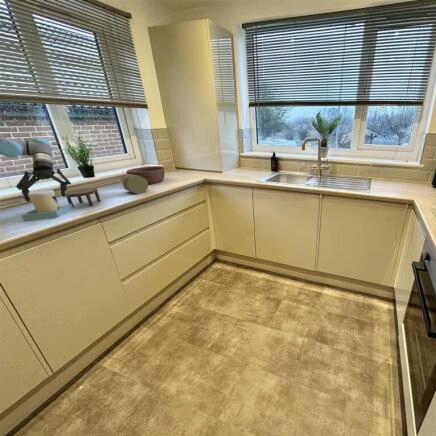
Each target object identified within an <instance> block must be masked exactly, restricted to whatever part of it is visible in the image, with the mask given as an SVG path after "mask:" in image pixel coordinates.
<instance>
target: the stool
mask: <svg viewBox="0 0 436 436" xmlns="http://www.w3.org/2000/svg"><path fill="white" fill-rule="evenodd" d="M93 194H94V195H95V198H96V202H97V203H99V202H101V201H102V200H101V197H100V194H99V190H98V188H97V187H81V188H76V189H72V190H67V191H65V198H66V200H67V202H68V204H72V207H73V209H74V208H75V205H74V203H73V200H72V198H77V200H78V203H79V204H83V203H84V201H83V198H82V197H86V200H87V202H88V205H89V207H94V203H93V200H92V198H91V195H93Z"/></svg>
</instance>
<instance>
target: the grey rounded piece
mask: <svg viewBox="0 0 436 436" xmlns="http://www.w3.org/2000/svg"><path fill="white" fill-rule="evenodd" d="M120 180H121V183H122V186H123V189H124V190H125V191H127V192H130V193H134V194H138V195H140V194H143V193H145V192H147V190H148V188H149V185H148V182H147V180H146V179H145V178H144V177H141V176H137V175H133V174H127V173H126V174H124V175H123V176H122V177H121V179H120Z"/></svg>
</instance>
